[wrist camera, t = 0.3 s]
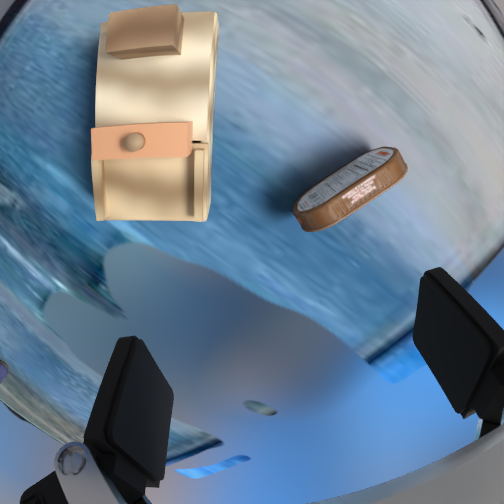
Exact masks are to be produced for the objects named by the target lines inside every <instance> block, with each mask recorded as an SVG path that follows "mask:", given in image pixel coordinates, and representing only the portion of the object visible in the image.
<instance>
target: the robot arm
mask: <svg viewBox="0 0 504 504" xmlns="http://www.w3.org/2000/svg"><path fill="white" fill-rule="evenodd" d="M413 342H414V344H415V346H416V347H417V349H418V351H419V352H420V354H421V355H422V357H423V358H424V360H425V362H426V363H427V365H428V366H429V368H430V369H431V371H432V373H433V374H434V376H435V378H436V379H437V381H438V383H439V384H440V386H441V388H442V389H443V391H444V393H445V395H446V396H447V398H448V400H449V401H450V403H451V405H452V407H453V408H454V410H455V412H457V413H458V414H459V413H460V414H461V415H462V417H463V419H465V418H467V417H469V416H470V415H472V414H474V413H477V415H478V417H479V421H478V426H477V431H476V435H475V440H474V442H472V443H470V444H469V445H467V446H465V447H463V448H462V449H459V450H457V451H456V452H454V453H452V454H450V455H448V456H446V457H444V458H442V459H440V460H438V461H436V462H433V463H431V464H429V465H427V466H425V467H422V468H420V469H418V470H415V471H413V472H411V473H408V474H406V475H403V476H401V477H398V478H395V479H393V480H390V481H387V482H384V483H382V484H379V485H376V486H373V487H369V488H366V489H363V490H360V491H357V492H353V493H350V494H346V495H342V496H338V497H335V498H330V499H326V500H322V501H318V502H312V503H308V504H504V330H503V329H502V328H501V327H500V326H499V325H498V323H497V322H496V321H495V320H494V319H493V318H492V317H491V316H490V315H489V314H488V313H487V312H486V311H485V310H484V309H483V308H482V306H481V305H480V304H479V303H478V302H477V301H476V300H475V299H474V298H473V297H472V296H471V295H470V294H469V293H468V292H467V291H466V290H465V289H464V288H463V287H462V286H461V285H460V284H459V283H458V282H457V281H455V280H454V279H453V278H452V277H451V276H450V275H449V274H448V273H447V272H446V271H445V270H444V269H443V268H441V267H437V268H434V269H431V270H428V271H426V272H425V273H424V276H423V277H421V279H420V287H419V295H418V303H417V311H416V318H415V324H414V331H413ZM173 400H174V395H173V391H172V388H171V387H170V385H169V384H168V382H167V380H166V379H165V377H164V376H163V374H162V372H161V371H160V369H159V367H158V366H157V364H156V362H155V361H154V359H153V357H152V356H151V354H150V352H149V350H148V349H147V347H146V345H145V343H144V342H143V341H142V340H141V339H138V338H137V337H136V336H129V337H122V338H119V339H118V341H117V343H116V346H115V348H114V351H113V353H112V356H111V359H110V361H109V364H108V367H107V369H106V372H105V374H104V377H103V380H102V383H101V385H100V388H99V391H98V394H97V397H96V400H95V403H94V406H93V409H92V412H91V415H90V418H89V421H88V424H87V427H86V430H85V434H84V437H83V438H84V442H83V443H81V442H77V441H75V442H69V443H67V444H65V445H64V446H62V447H61V448H60V449H59V451H58V452H57V454H56V456H55V460H54V468H55V471H54V472H52V473H51V474H49V475H48V476H46V477H45V478H43V479H42V480H40V481H39V482H37V483H36V484H34V485H33V486H31V487H30V488H28V489H27V490H26V491H25V492H24V493H23V495H22V496H21V499H20V504H152V503H151V502H150V500H149V499H148V498H147V497H146V495H145V488H146V487H157V488H159V483H160V480H163V478H164V474H165V464H166V455H167V446H168V438H169V430H170V422H171V414H172V407H173Z"/></svg>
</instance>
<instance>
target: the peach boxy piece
mask: <svg viewBox="0 0 504 504" xmlns="http://www.w3.org/2000/svg"><path fill="white" fill-rule="evenodd" d="M192 137H193V121H188V122H153V123H135V124H122V125H110V126H102V127H97V128H91V145H92V161H94V160H108V159H126V158H153V157H188V156H189V155H190V154H191V152H192Z"/></svg>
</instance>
